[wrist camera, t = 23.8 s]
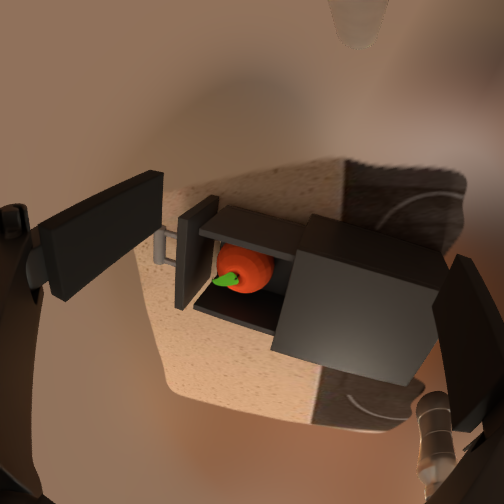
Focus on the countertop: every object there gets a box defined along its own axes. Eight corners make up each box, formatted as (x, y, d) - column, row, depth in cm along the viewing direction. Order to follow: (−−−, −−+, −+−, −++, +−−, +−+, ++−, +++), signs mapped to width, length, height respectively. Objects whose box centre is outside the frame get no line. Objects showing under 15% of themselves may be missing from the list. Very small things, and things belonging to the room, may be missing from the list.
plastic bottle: (452, 402, 45) (460, 497, 28) (418, 412, 48) (418, 507, 31) (447, 381, 44) (458, 484, 27) (411, 393, 47) (411, 495, 30)
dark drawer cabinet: (288, 301, 46) (270, 350, 37) (311, 213, 39) (297, 249, 30) (402, 333, 43) (406, 386, 34) (441, 252, 36) (461, 297, 27)
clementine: (237, 283, 45) (218, 313, 39) (213, 240, 43) (188, 264, 37) (289, 266, 41) (276, 297, 35) (265, 218, 39) (246, 241, 33)
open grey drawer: (173, 264, 48) (141, 295, 41) (177, 186, 42) (139, 206, 35) (312, 308, 44) (301, 350, 37) (337, 227, 38) (332, 260, 31)
